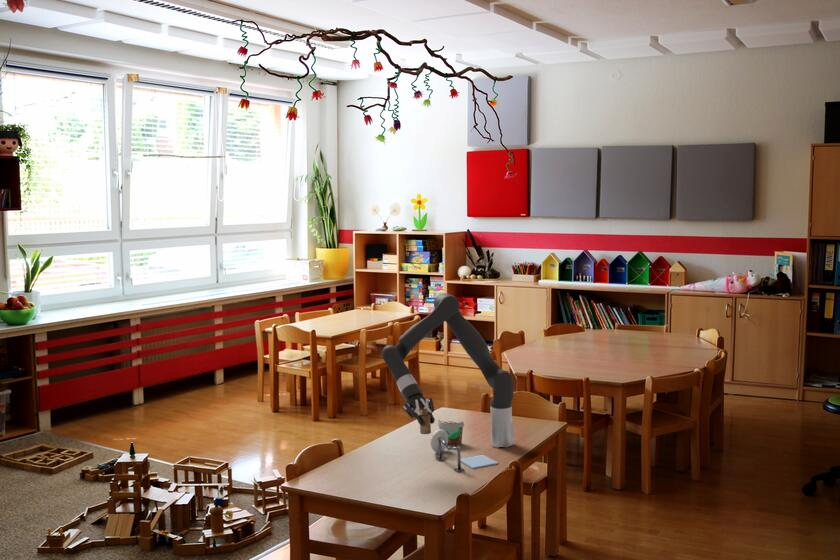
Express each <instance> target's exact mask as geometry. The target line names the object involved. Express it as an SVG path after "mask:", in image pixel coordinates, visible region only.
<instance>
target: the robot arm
mask: <svg viewBox="0 0 840 560" xmlns="http://www.w3.org/2000/svg"><path fill="white" fill-rule="evenodd" d="M460 306H461V305H460V300H459V299H458V297H456V296H454V295H452V294H449V293H444V292H443V293H439V294H436V296H435V298H434V299H433V308H434V309H433V310H432V312H430V313H429V314H428V315H427V316H426V317H424V318H423V319H421V320H420V321H417V322H416V323H414V324H413V325H412V326H410V327H409V328H408V329H407V330H406V331H405V332H404V333H403V334H402V335H400V337H399V338H398V343H397V344H396V346H394V345H392V344H389V345H385V346H384V347H383V349H382V350H381V357H382V360H383V361H384V363H385V364H386V366H387V367H388V369H389V371H390V373H391V375H392V378H393V379H394V381H395V382H396V385H397V387H398V388H397V389H398V390H399V391H400V393H401V396H402V398H403V399H404V400H405V403H404V405H403V406H402V410H403V411H404V412H405V413H406V414H407V415H408V416H409V417H410V418H411V419H416V420H417V422H418V424H419V426H420V425H421V426H424V424H425V422H424V420H423V418H422V416H421V413H420V411H422V409H428V414H429V415H430V420H431V425H432V424H434V423H435V421H436V419H435V417H434V415H433V413H434V412H435V407H434V402H433V398H432V397H430V398H426V397H425V396H424V395H423V391H422V390H421V388H420V386H419V384H418V382H417V380H416V379H415V378H414V376H413V375H412V373H411V371H410V369H409V367H408V366H407V365H406V363H405V362H404V360H405V359H406V357H407V356H408V355H409V353H410V352H411V350H413V349H414V348H415V347H416V346H418V344H419V343H420V342H421V341H422V340H423V339H424V338H426V336H428V335H429V334H430V333H432V332H433V331H434V330H436V329H437V328H438V327H440V325H442V324H443V323H444V322H445V323H446V324H447V325H448V326H449V327H450V329H451V331H452V332H453V334H454V336H455V337H456V339H457V341H458V342H459V344H460V345H461V346H462V348H463V349H464V351H465V353H466V354H467V355H468V356H469V357H470V359H471V360H472V361H473V362H474V363H475V365H476V366H477V367H478V368H479V370H480V372H481V373H482V375H483V377H484V380H486V382H487V384H488V385H489V387H490V388H492V389H493V398H491V399H490V406H489V407H490V408H489V409H490V410H489V411H490V445H491V447H494V446H495V447H494V448H499V447H505V448H509V446H510V447H512V446H514V445H515V423H514V422H513V417H512V416H513V414H512V413H513V409H512V404H513V400H514V386H515V385H514V377H513V375H512V374H511V373H510V372H509V371H507V370H505V369H502V368H501V367H500V365H498V364H497V362H496V361H495V360H494V358H493V357H492V355H491V352H490V351H489V347H488V344H487V342H486V341H485V339H484V338H483V336H482V335H481V334H480V332H479V331H478V330H477V329H476V328H475V327H474V325H473V324H471V322H469V321H468V320H467V319H466V318H465V316H463V314H462V313H461V311H460Z"/></svg>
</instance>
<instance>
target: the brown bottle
mask: <svg viewBox="0 0 840 560" xmlns="http://www.w3.org/2000/svg"><path fill="white" fill-rule="evenodd" d="M420 415H421V416H422V418H423V420H424V422H425V424H424V426H421V425H420V424H419V429H420V431H419V432H420V434H421V435H429V434H432V424H431V420H430V415H429V414H428V409H422V410H421V413H420Z"/></svg>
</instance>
